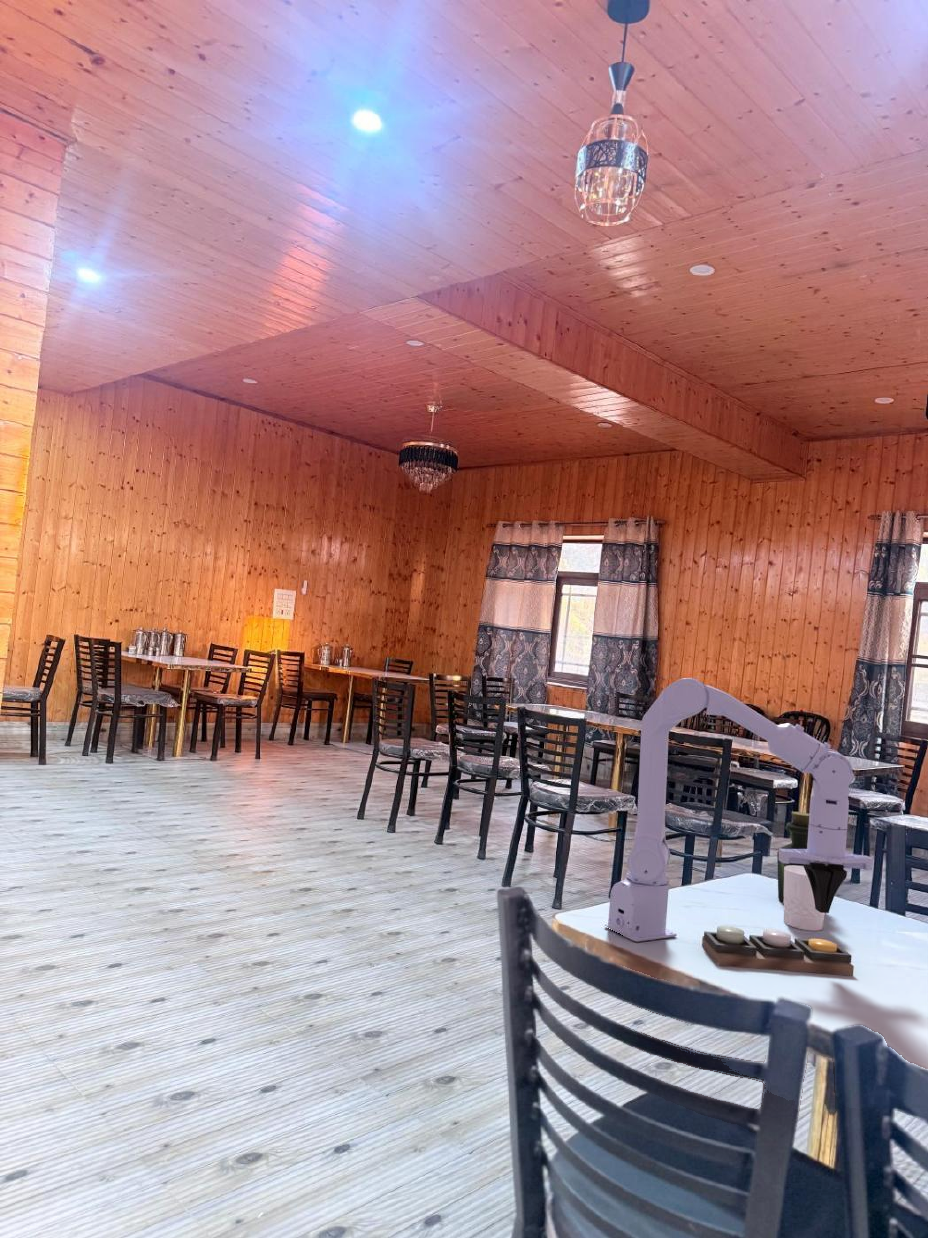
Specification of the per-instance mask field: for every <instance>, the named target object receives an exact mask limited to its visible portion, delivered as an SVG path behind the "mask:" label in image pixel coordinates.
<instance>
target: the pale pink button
mask: <svg viewBox="0 0 928 1238" xmlns="http://www.w3.org/2000/svg"><path fill="white" fill-rule="evenodd" d="M762 936H763V942H765V943H767V944H769V945H773V946H777V947H789V946H790V942H791V941H792V935H791V934H790V933H788V932H786V931H782V930H778V929H773V928H772V929H770V928H769V929H763V931H762Z"/></svg>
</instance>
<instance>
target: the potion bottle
mask: <svg viewBox="0 0 928 1238" xmlns="http://www.w3.org/2000/svg"><path fill="white" fill-rule="evenodd" d="M809 815H810V813H807V812H801V811H791V818H792V819H791V820H792V822H787V823H786V825H785V827H784V829H785V831H788V832H789V835H790V839H791V843H788V844H785V845H784V846H783V845H782V846H781V847H780V848H779V849H807V843H808V829H809ZM776 854H777V856H776V857H777V894H778V895H777V896H778V897H777V898H778V900H779V901H780V902H781V903H783V904H784V867H785V866H790V865H796V866H803V864H798V863H789V864H786V863H782V862H780V861H779V860H778V859H779V850H778V851H777V853H776ZM808 861H809V860H808Z"/></svg>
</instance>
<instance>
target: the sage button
mask: <svg viewBox="0 0 928 1238" xmlns="http://www.w3.org/2000/svg"><path fill="white" fill-rule="evenodd" d="M716 932H717V936H716V937H717V938H718V939H719V940H722V941H725V942H729V943H743V942H744V936H745V931H744V930H743V929H741V928H738V927H734V926H730V925H718V926H717V927H716Z"/></svg>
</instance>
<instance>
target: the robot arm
mask: <svg viewBox="0 0 928 1238" xmlns="http://www.w3.org/2000/svg"><path fill="white" fill-rule="evenodd" d="M705 708H706V712H705V715H711V716H721V717H722V716H723V717H726V718H728V719H729V720H731V721H733V722H734V723H736V724H738V725H740V727H742V728H745V729H746V730H748V731H749V732H751V733H753V734H755V735H757V736H758V737H760V738H762V739H764V740H765V741H766V742H767V746H768V750H769V753H771V754H772V755H774V756H776V757H777V758H779V759H781V760H782V761H783V762H786V763H787V764H789V765H790V766H792V767H793V768H794V769H796V770H798V771H800V772H801V773H802V774H811V776H812V777H813V778H814V779H813V782H812V793H811V795H810V802H809V803H810V804H809V814H810V815H809V829H808V843H807V849H780V848H778V851H779V859H778V860H779V861H780V862H782V863H786V864H789V863H798V864H803V866H804V869H805V871H806V874H807V876H808V878H809V881H810V884H811V888H812V892H813V896H814V902H815V909H816V910H817V911H819V912H821V913H825V914H829V913H830V910H831V907H832V903H833V901H834V899H835V895H836V894H837V892H838V890H839V888H840V887H841V885H842V884H843V882H844V881H845V880H846V879H847V875H848V871H847V870H846V868H848V869H861V870H865V871H873V865H874V858H873V857H870V856H868V855H861V854H855V853H849V852H848V853H847V851H846V850H847V839H848V838H847V837H848V836H847V835H848V822H849V821H848V819H849V807H850V806H849V805H850V801H849V794H850V787H849V786H850V785H851V783H852V782H853V780H854V776H855V774H854V772H853V767H852V764H851V762H850V760H848V759H847V758H846V757H845V756H844V755H842V753H840V752H839V751H838V750H836V749H831V747H832V745H831V744H830V743H828V742H826V741H824V743H823V742H821V741H819V740H818V739H816V738H815V737H813V736H812V735H809V733H807V732H805V731H804V730H805V728H804V727H803V726H801V725H800V724H798V723H796V725H793V724H791V723H789V722H787V723H782V724H776V723H775V722H773V721H771V720H770V719H768V718H766V717H765V716H763V715H762V714H760V713H758V712H757V711H755V710H754V709H752V708H751V707H750V706H747V704H746V703H745V704H744V702H741V701H740V700H738V699H737V698H736V697H734V696H732V695H731V694H729V693H728V692H725V691H724V690H723V691H722V690H720V689H718V688H716V687H713V686H712V685H708V684H706V685H705V684H704V683H703V682H702V681H700V680H699V679H697V678H693V677H687V678H686V677H685V678H680V679H677V680H676V681H674V682H673V683H671V684H670V685H667V687H665V688H663V690H661V692H660V694H659V696H658V697H657V698H656V700H655V701H654V702H653V704H651V706H650V707H649V709H648V710H647V711H646V712H645V714H644V715H643V717H642V719H641V727H640V728H641V729H640V731H641V732H640V746H639V747H640V749H639V751H640V752H639V774H638V792H637V793H638V797H637V813H636V815H637V818H636V825H635V826H636V827H635V832H634V840H633V841H634V842H633V847H632V849H630V852H629V854H628V856H627V868H628V870H627V872H626V877H625V878H624V879H623V880H621V881H618V882H616V883H615V884H614V885H612V888H611V891H610V897H609V907H608V908H609V909H608V922H607V923H605V924H604V927H605V926H607V927H608V928H610V929H612V930H613V931H612V930H611V931H612V932H614V931H615V932H614V933H616V932H617V934H618V933H620V934H621V936H622V935H623V936H622V937H625V938H627V939H629V940H631V941H632V942H645V941H652V940H658V939H660V940H661V939H666V938H674V937H677V933H676V932H674V931H673V930H670V929H667V913H668V903H669V901H668V900H669V892H670V891H669V890H670V878H669V877H668V876H667V874H666V870H667V869H666V868H667V866H668V865H669V862H670V859H671V851H670V848H669V846H668V843H667V841H666V823H665V822H666V805H667V804H666V803H667V801H666V799H667V783H668V782H667V777H668V761H669V760H668V758H669V757H668V756H669V755H668V754H669V736H670V735H669V734H670V731H671V730H673V728H675V727H676V726H677V725H678V724H680V723H681V722H682V721H683V720H686V719H688V718H691V717H693V716H696V715H698V714H699V713H701V712H702V711H703V710H704V709H705ZM808 860H809V861H808ZM844 868H845V869H844ZM608 928H607V929H608ZM610 929H609V930H610ZM620 934H619V935H620Z"/></svg>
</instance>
